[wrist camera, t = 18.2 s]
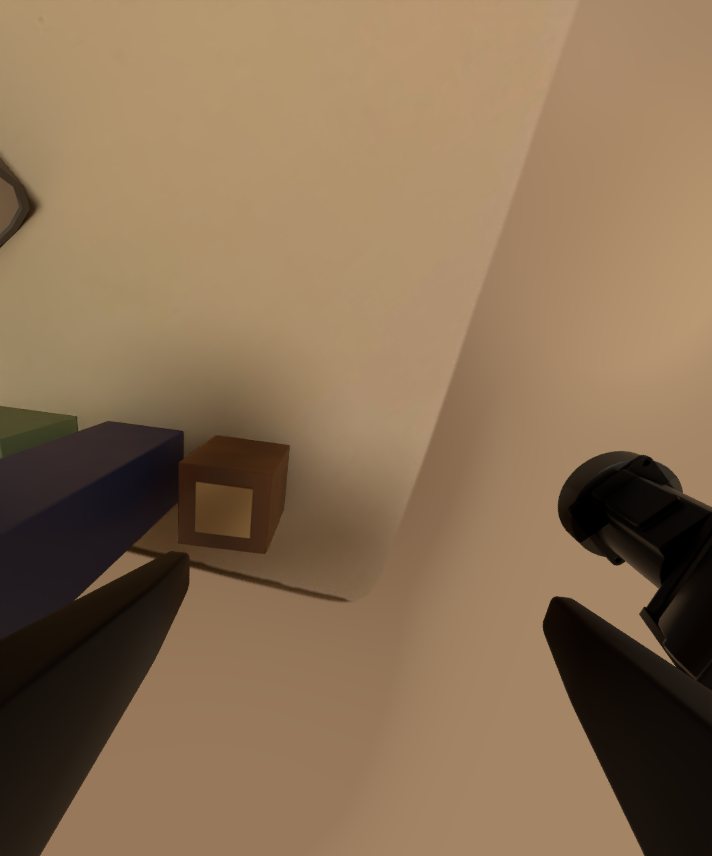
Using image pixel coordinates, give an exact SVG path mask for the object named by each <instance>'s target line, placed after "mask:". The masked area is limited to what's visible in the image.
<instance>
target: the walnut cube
mask: <svg viewBox="0 0 712 856" xmlns="http://www.w3.org/2000/svg"><path fill="white" fill-rule="evenodd" d="M289 450H290V446H289V445H283V444H276V443H268V442H261V441H253V440H246V439H239V438H231V437H224V436H215V437H213V438H212V439H211V440H209V441H208V442H206V443H205V444H204V445H202V446H201V447H200V448H198V449H197V450H195V451H194V452H193V453H191V454H190V455H188V456H187V457H186V458H184V459H183V460H182V461H180V462H179V496H178V543H179V544H186V545H195V546H203V547H211V548H220V549H228V550H236V551H245V552H253V553H261V554H266V553H267V550H268V548H269V545H270V543H271V540H272V538H273V535H274V533H275V530H276V528H277V525H278V523H279V520H280V518H281V515H282V513H283V510H284V501H285V491H286V481H287V470H288V460H289Z"/></svg>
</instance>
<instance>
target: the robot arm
mask: <svg viewBox="0 0 712 856" xmlns="http://www.w3.org/2000/svg"><path fill="white" fill-rule="evenodd" d="M644 461H645V462H644ZM643 462H644V464H642V463H643ZM577 509H578V511H577V512H575V511H576V510H577ZM568 512H569V514H570V515H571V516H572V518H573V519H574V520H575V521H576V522H577V524H578V525H579V526H580V527H581V528H582V529H583V531H584V532H585V533H586V534H587V535H588V537H589V538H590V539H591V540H592V541H593V542H594V544H595V545H596V546H597V547H598V548H599V550H600V551H601V552H602V553H603V554H604V556H605V557H606V558H607V559H608V560H609V561H610V562H611V563H612V564H613V565H621V564H622V563H624V562H625V561H626V562H627V563H628V564H630V565H631V566H632V567H633V568H634V569H636V570H637V571H638V572H639V573H640V574H642V575H643V576H644V577H645V578H647V579H648V580H649V581H650V582H651V583H653V584H654V585H655V586H656V587H657V588H659V589H658V591H657V592H656V594H655V595H654V597H653V598H652V600H651V601H650V603H649V604H648V606H647V607H644V608H643V609H642V611H641V612H640V614H639V615H640V616H641V618H642V619H643V620H644V622H645V623H646V625H647V626H648V628H649V629H650V630H651V632H652V633H653V635H654V636H655V637H656V639H657V640H658V642H659V643H660V645H661V646H662V647H663V649H664V650H665V652H666V653H667V655H668V656H669V657H670V659H671V660H672V662H673V663H674V665H675V666H676V667H675V666H673V665H672V664H670V663H669V662H667V661H666V660H664V659H663V658H661V657H660V656H658V655H657V654H655V653H654V652H652V651H651V650H649V649H648V648H646V647H645V646H643V645H641V644H640V643H639V642H637V641H636V640H634V639H633V638H631V637H630V636H628V635H627V634H625V633H623V632H622V631H620V630H619V629H617V628H616V627H614V626H613V625H611V624H610V623H608V622H607V621H605V620H604V619H602V618H601V617H599V616H598V615H596V614H595V613H593V612H592V611H590V610H589V609H587V608H586V607H584V606H583V605H581V604H580V603H578V602H577V601H575V600H573V599H571V598H566V597H558V596H556V597H553V598H552V600H551V601H550V604H549V607H548V609H547V612H546V615H545V618H544V620H543V631H544V635H545V637H546V640H547V642H548V645H549V647H550V650H551V653H552V655H553V658H554V661H555V663H556V666H557V668H558V671H559V673H560V676H561V679H562V681H563V683H564V686H565V689H566V691H567V694H568V696H569V698H570V701H571V703H572V706H573V708H574V710H575V712H576V714H577V716H578V719H579V721H580V723H581V725H582V727H583V729H584V731H585V733H586V735H587V737H588V739H589V741H590V743H591V746H592V748H593V749H594V752H595V753H596V756H597V758H598V760H599V762H600V764H601V766H602V768H603V770H604V773H605V775H606V777H607V779H608V781H609V783H610V785H611V787H612V789H613V791H614V793H615V795H616V797H617V800H618V801H619V804H620V806H621V808H622V810H623V812H624V814H625V816H626V818H627V820H628V822H629V824H630V827H631V829H632V831H633V833H634V835H635V837H636V839H637V841H638V843H639V845H640V847H641V849H642V851H643V854H644V856H712V507H710V506H708V505H706V504H704V503H702V502H700V501H698V500H696V499H694V498H692V497H689V496H687V495H685V494H683V493H681V492H679V491H677V490H675V489H674V487H673V486H672V485H671V483H670V482H669V481H668V479H667V478H666V476H665V475H664V474H663V472H662V471H661V470H660V468H659V467H658V466H657V464H656V463H655V461H654V460H653V459H652V458H651V457H649V456H646V455H639V456H638V457H636V458H635V459H633V460H632V461H631V462H629V463H628V464H627V465H625V466H624V467H622V468H621V469H620V470H618V471H617V472H616V473H614V474H613V475H611V476H610V477H609V478H607V479H606V480H604V481H603V482H602V483H600V484H599V485H598V486H596V487H595V488H593V489H592V490H591V491H589V492H588V493H587V494H585V495H584V496H582V497H581V498H580V499H578V500H577V501H576V502H574V503H573V504H571V505H570V506H569V508H568ZM189 566H190V559H189V555H188V554H187V553H183V552H175V551H171V552H168V553H166V554H164V555H162V556H160V557H158V558H156V559H154V560H153V561H151V562H149V563H147V564H145V565H143V566H141V567H139V568H137V569H135V570H133V571H131V572H129V573H127V574H126V575H124V576H122V577H120V578H118V579H116V580H114V581H112V582H110V583H108V584H106V585H104V586H102V587H100V588H98V589H97V590H95V591H93V592H91V593H89V594H87V595H85V596H83V597H82V598H79V599H77V600H75V601H73V602H71V603H69V604H68V605H66V606H64V607H62V608H60V609H58V610H56V611H54V612H52V613H50V614H48V615H46V616H44V617H42V618H41V619H39V620H37V621H35V622H33V623H31V624H29V625H27V626H25V627H23V628H21V629H19V630H17V631H15V632H13V633H12V634H10V635H8V636H6V637H4V638H2V639H0V856H40V855H41V853H42V851H43V850H44V848H45V846H46V845H47V843H48V841H49V840H50V837H51V836H52V834H53V833H54V831H55V829H56V828H57V826H58V824H59V822H60V821H61V819H62V817H63V815H64V814H65V812H66V811H67V809H68V807H69V805H70V804H71V802H72V800H73V799H74V797H75V795H76V794H77V792H78V790H79V788H80V787H81V785H82V783H83V782H84V780H85V778H86V777H87V775H88V773H89V771H90V770H91V768H92V766H93V765H94V763H95V761H96V760H97V758H98V756H99V754H100V752H101V751H102V749H103V748H104V746H105V744H106V743H107V741H108V739H109V737H110V736H111V734H112V732H113V731H114V729H115V727H116V725H117V724H118V722H119V720H120V719H121V717H122V715H123V713H124V712H125V710H126V709H127V707H128V705H129V703H130V702H131V700H132V698H133V697H134V695H135V693H136V692H137V690H138V688H139V686H140V684H141V683H142V681H143V680H144V678H145V676H146V675H147V673H148V671H149V669H150V667H151V666H152V664H153V662H154V660H155V658H156V656H157V654H158V652H159V650H160V648H161V646H162V644H163V642H164V640H165V638H166V635H167V633H168V631H169V629H170V627H171V624H172V623H173V620H174V618H175V616H176V614H177V612H178V610H179V607H180V606H181V603H182V601H183V599H184V597H185V595H186V593H187V590H188V586H189Z"/></svg>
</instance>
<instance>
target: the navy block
mask: <svg viewBox="0 0 712 856" xmlns="http://www.w3.org/2000/svg"><path fill="white" fill-rule="evenodd" d="M182 460H183V431H178V430H170V429H163V428H155V427H148V426H141V425H133V424H126V423H118V422H111V421H107V422H104V423H101V424H98V425H96V426H93V427H90V428H87V429H84V430H81V431H78V432H75V433H73V434H70V435H67V436H64V437H61V438H58V439H55V440H53V441H50V442H47V443H44V444H41V445H38V446H35V447H32V448H30V449H27V450H24V451H21V452H18V453H15V454H12V455H9V456H7V457H4V458H1V459H0V639H2V638H4V637H6V636H8V635H10V634H12V633H13V632H15V631H17V630H19V629H21V628H23V627H25V626H27V625H29V624H31V623H33V622H35V621H37V620H39V619H41V618H42V617H44V616H46V615H48V614H50V613H52V612H54V611H56V610H58V609H60V608H62V607H64V606H66V605H68V604H69V603H71V602H73V601H74V600H75V599H76V598H77V597H78V596H80V595H81V594H82V593H83V592H84V591H85V590H86V589H87V588H88V587H89V586H90V585H91V584H92V583H93V582H94V581H95V580H96V579H97V578H98V577H99V576H101V575H102V574H103V573H104V572H105V571H106V570H107V569H108V568H109V567H110V566H111V565H112V564H113V563H114V562H115V561H116V560H118V558H120V557H121V556H122V555H123V554H124V553H125V552H126V551H127V550H128V549H129V548H130V547H131V546H132V545H133V544H134V543H136V542H137V541H138V540H139V539H140V538H141V537H142V536H143V535H144V534H145V533H146V532H147V531H148V530H149V529H150V528H151V527H152V526H153V525H155V524H156V523H157V522H158V521H159V520H160V519H161V518H162V517H163V516H164V515H165V514H166V513H167V512H168V511H169V510H170V509H171V508H172V507H174V506H175V505H176V504H177V503H178V496H179V462H180V461H182Z"/></svg>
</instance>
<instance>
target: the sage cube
mask: <svg viewBox="0 0 712 856" xmlns="http://www.w3.org/2000/svg"><path fill="white" fill-rule="evenodd" d="M75 432H77V420H76V416H69V415H61V414H54V413H47V412H39V411H32V410H24V409H17V408H10V407H2V406H0V459H1V458H4V457H7V456H9V455H12V454H15V453H18V452H21V451H24V450H27V449H30V448H32V447H35V446H38V445H41V444H44V443H47V442H50V441H53V440H55V439H58V438H61V437H64V436H67V435H70V434H73V433H75Z"/></svg>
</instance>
